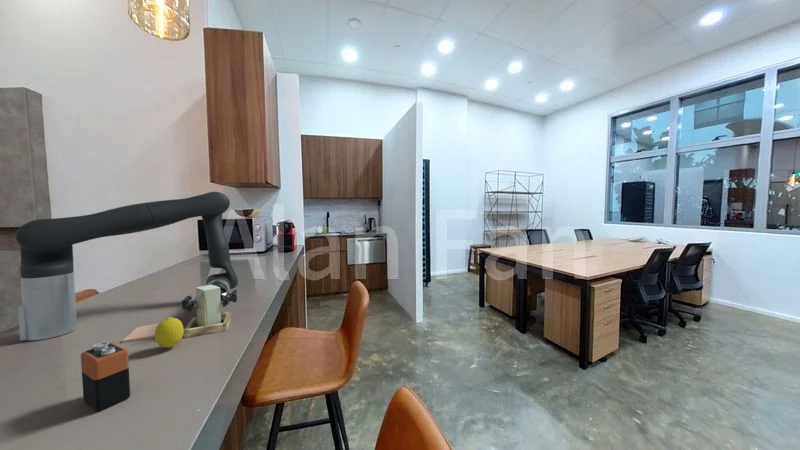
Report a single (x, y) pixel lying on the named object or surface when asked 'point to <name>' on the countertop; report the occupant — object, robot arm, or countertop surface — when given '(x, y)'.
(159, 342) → the lemon
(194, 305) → the robot arm
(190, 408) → the countertop surface
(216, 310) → the skincare box
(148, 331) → the terracotta tile
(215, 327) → the square wooden frame
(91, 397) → the battery
